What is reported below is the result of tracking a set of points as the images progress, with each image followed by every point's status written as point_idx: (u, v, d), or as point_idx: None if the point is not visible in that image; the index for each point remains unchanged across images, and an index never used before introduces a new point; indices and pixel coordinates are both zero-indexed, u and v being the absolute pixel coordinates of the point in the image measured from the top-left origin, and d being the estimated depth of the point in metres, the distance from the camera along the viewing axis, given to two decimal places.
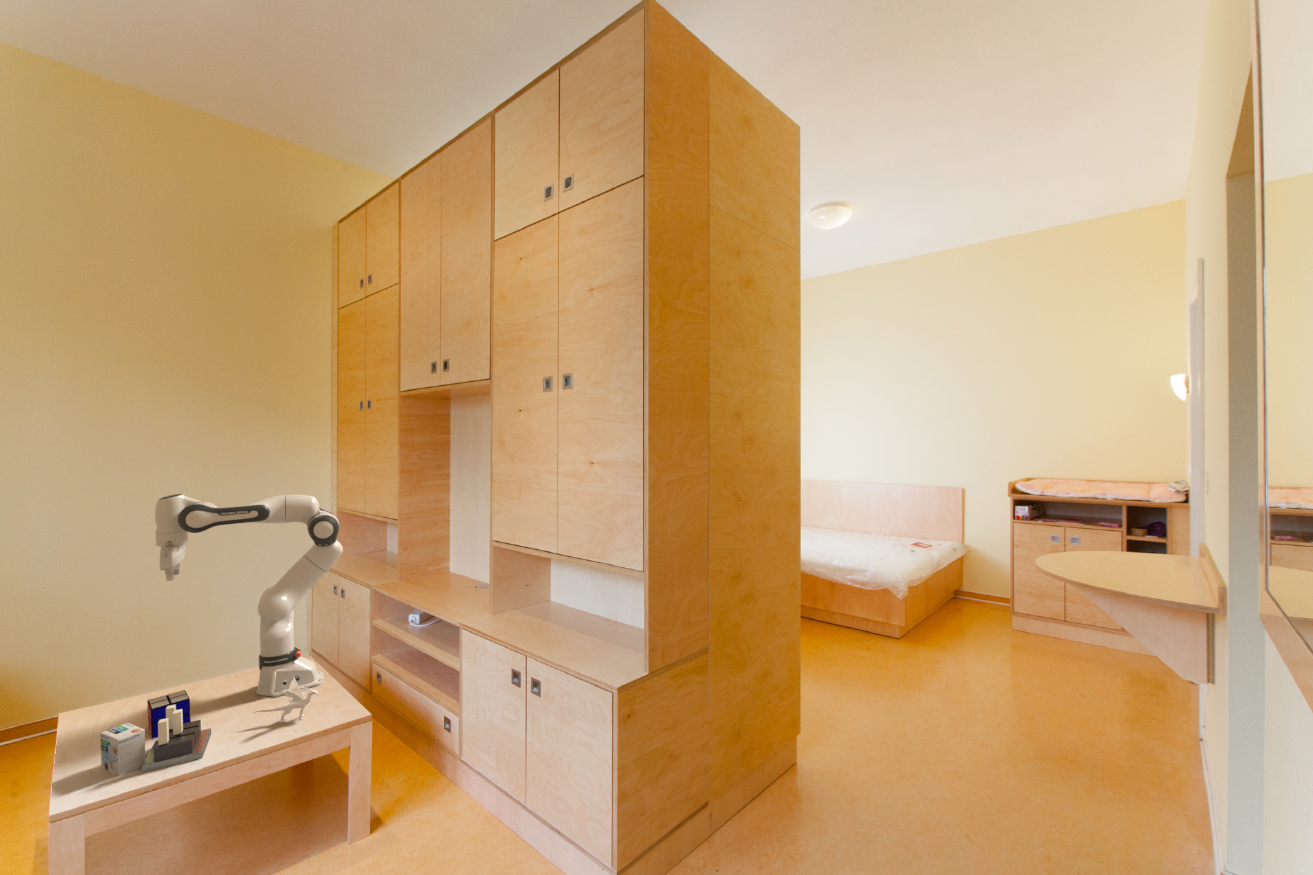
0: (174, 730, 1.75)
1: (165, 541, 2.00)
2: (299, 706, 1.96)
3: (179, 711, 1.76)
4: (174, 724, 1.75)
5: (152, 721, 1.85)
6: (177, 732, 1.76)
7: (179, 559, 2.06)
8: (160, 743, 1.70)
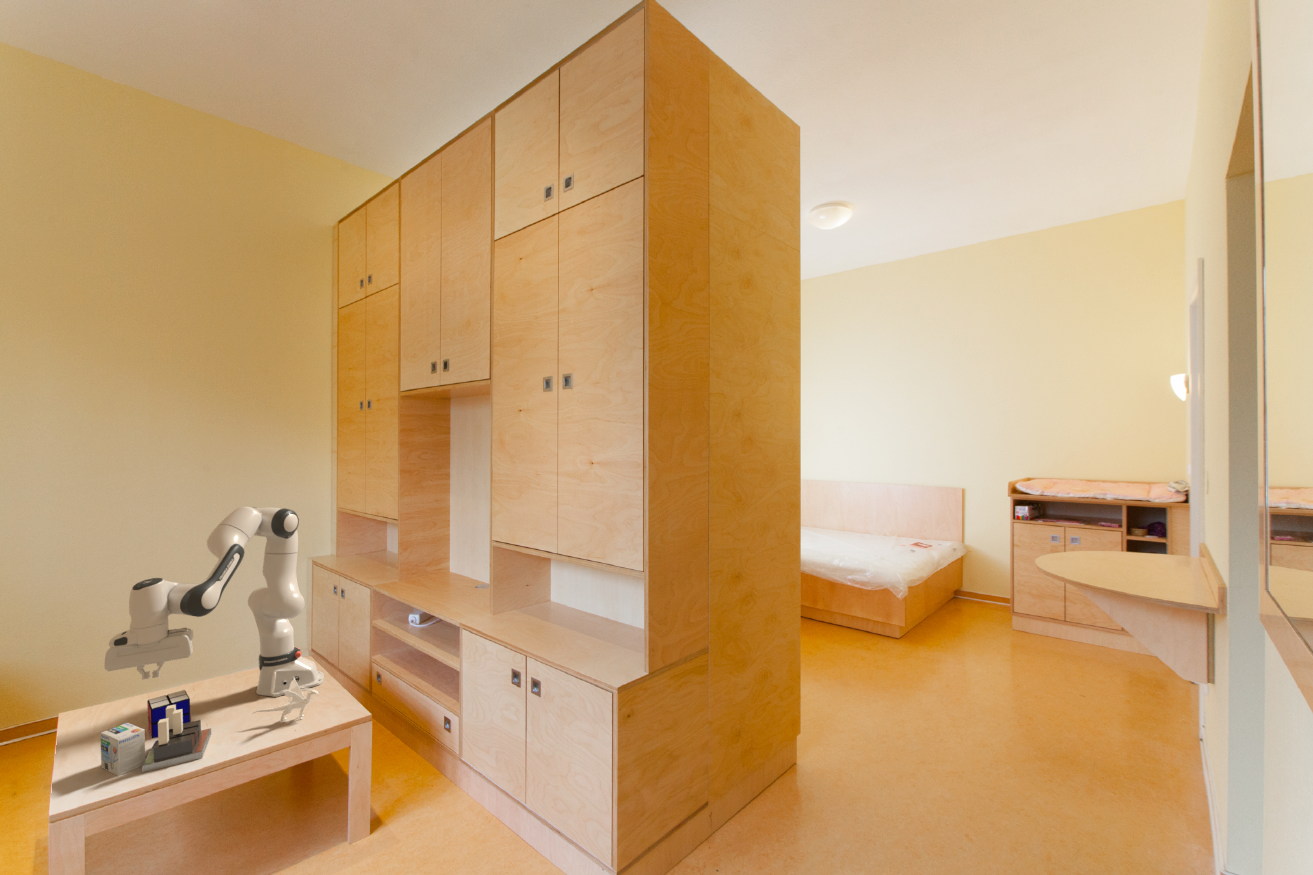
0: (174, 730, 1.75)
1: (166, 630, 1.74)
2: (299, 706, 1.96)
3: (179, 711, 1.76)
4: (174, 724, 1.75)
5: (152, 721, 1.85)
6: (177, 732, 1.76)
7: None
8: (160, 743, 1.70)
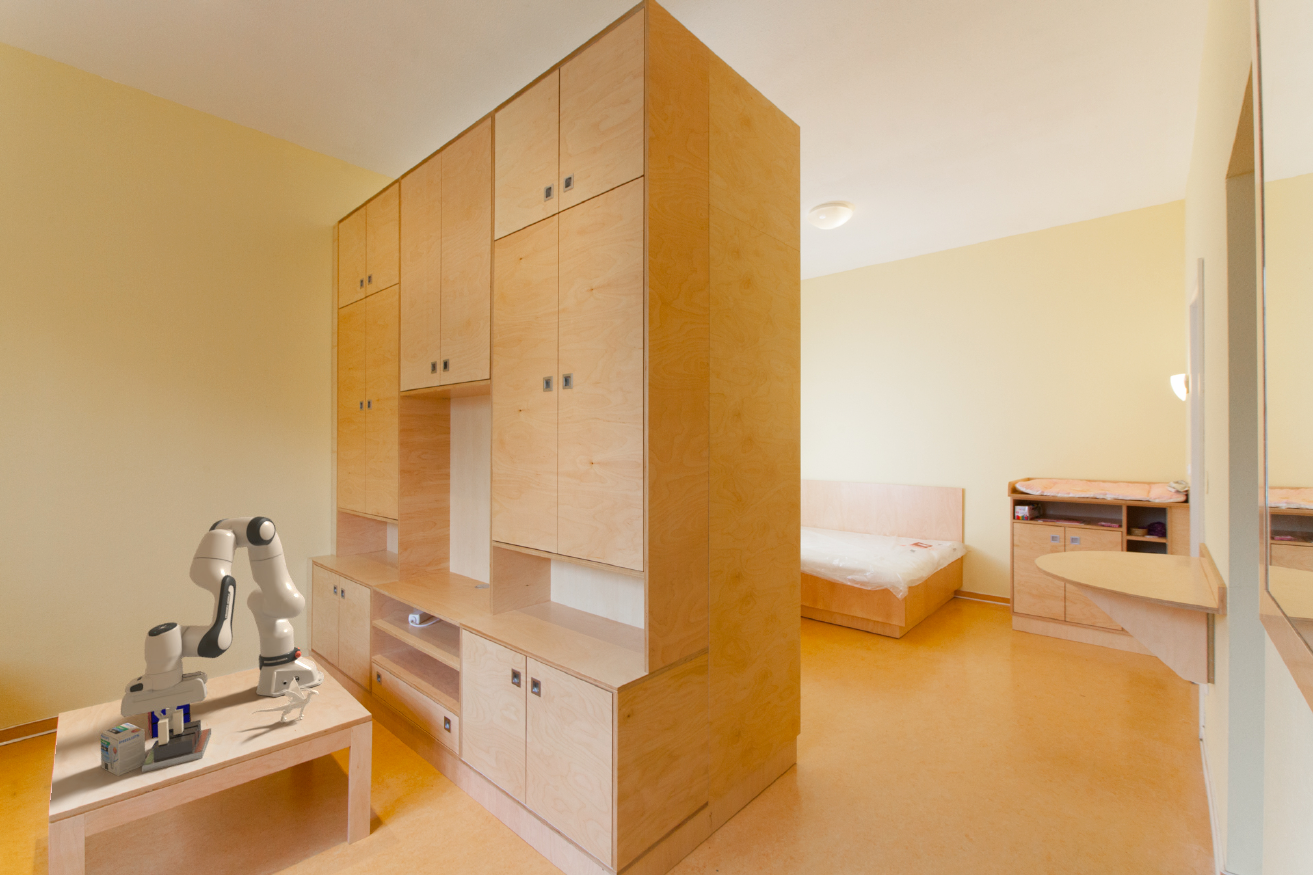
0: (174, 730, 1.75)
1: (181, 675, 1.76)
2: (299, 706, 1.96)
3: (179, 711, 1.76)
4: (174, 724, 1.75)
5: (152, 721, 1.85)
6: (177, 732, 1.76)
7: None
8: (160, 743, 1.70)
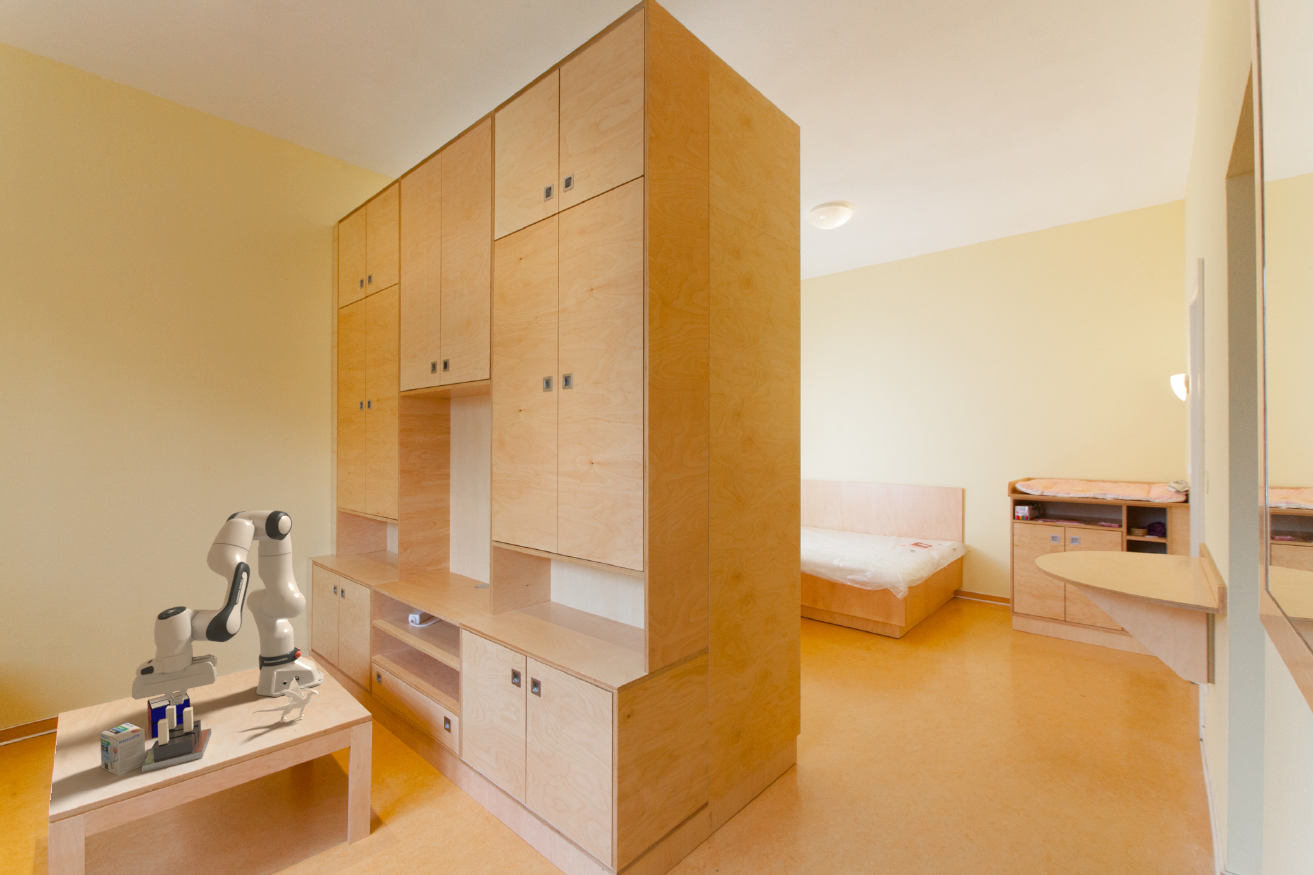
0: (185, 728, 1.77)
1: (191, 658, 1.77)
2: (299, 706, 1.96)
3: (190, 709, 1.78)
4: (185, 722, 1.77)
5: (152, 721, 1.85)
6: (188, 730, 1.77)
7: None
8: (160, 743, 1.70)
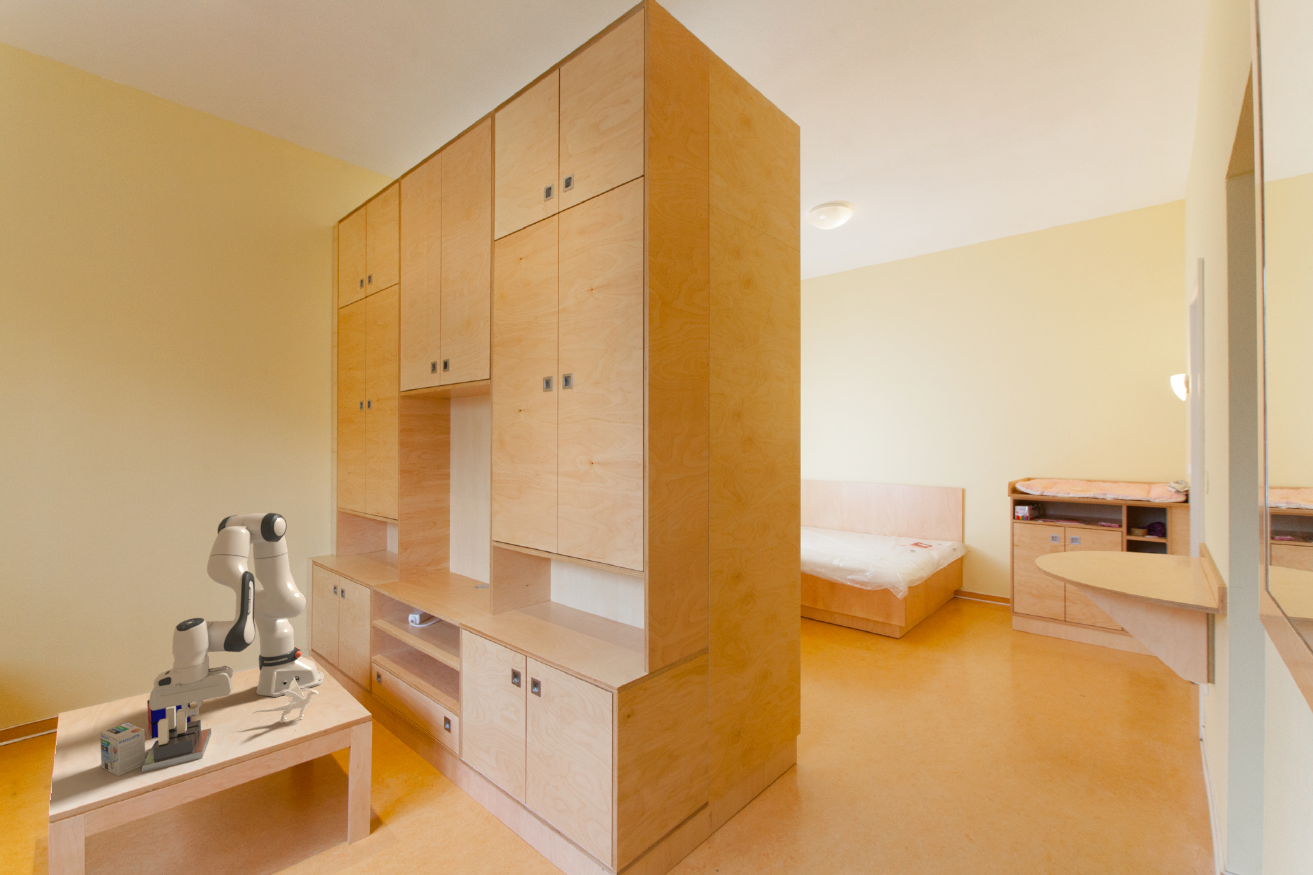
0: (178, 729, 1.76)
1: (207, 669, 1.79)
2: (299, 706, 1.96)
3: (183, 710, 1.77)
4: (178, 723, 1.76)
5: (152, 721, 1.85)
6: (181, 731, 1.76)
7: None
8: (160, 743, 1.70)
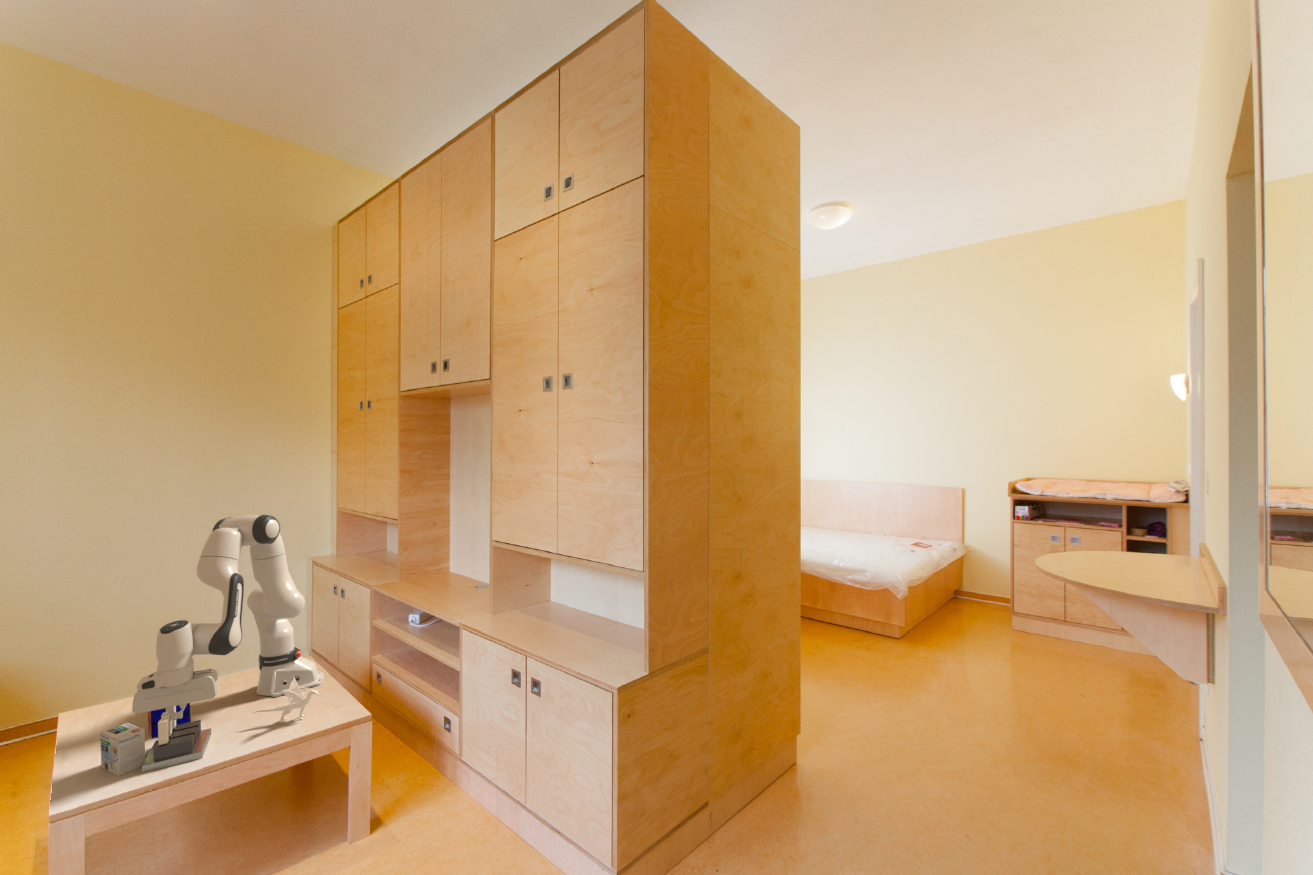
0: None
1: (192, 672, 1.77)
2: (299, 706, 1.96)
3: (168, 713, 1.75)
4: None
5: (152, 721, 1.85)
6: None
7: None
8: (160, 743, 1.70)
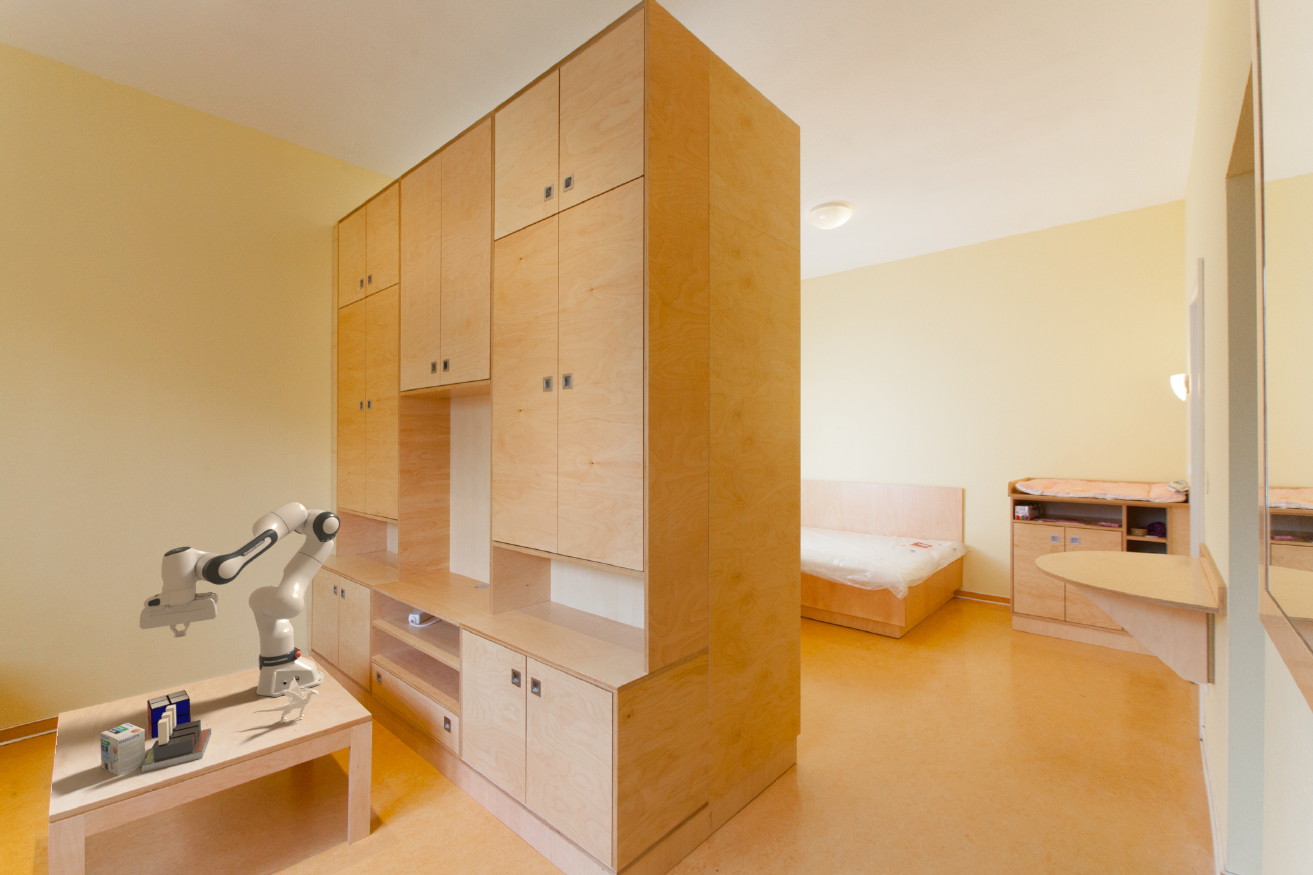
0: None
1: (194, 594, 1.93)
2: (299, 706, 1.96)
3: (168, 713, 1.75)
4: None
5: (152, 721, 1.85)
6: None
7: None
8: (160, 743, 1.70)
